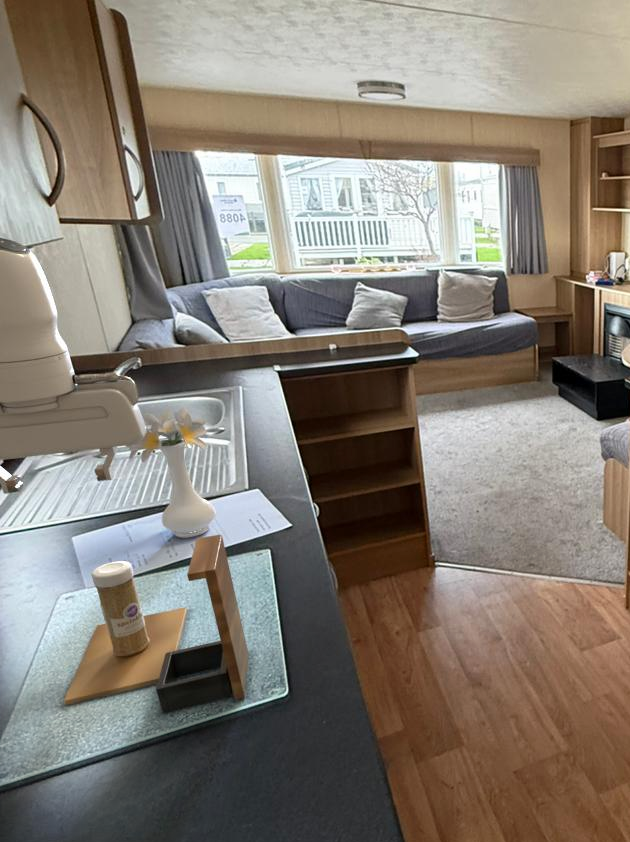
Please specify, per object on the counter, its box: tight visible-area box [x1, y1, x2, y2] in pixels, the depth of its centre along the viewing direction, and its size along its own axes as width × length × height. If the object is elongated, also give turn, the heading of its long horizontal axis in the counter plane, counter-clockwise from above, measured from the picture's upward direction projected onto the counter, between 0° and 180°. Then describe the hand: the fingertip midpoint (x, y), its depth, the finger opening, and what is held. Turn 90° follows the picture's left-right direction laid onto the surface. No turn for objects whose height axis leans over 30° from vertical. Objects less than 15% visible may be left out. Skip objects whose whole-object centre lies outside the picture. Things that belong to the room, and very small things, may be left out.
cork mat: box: [63, 606, 188, 706], centre depth 96 cm, size 12×18×1 cm, turn 24°
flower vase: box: [125, 407, 217, 539], centre depth 127 cm, size 13×18×25 cm
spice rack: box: [155, 533, 249, 715], centre depth 86 cm, size 10×10×20 cm
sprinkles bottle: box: [91, 560, 150, 656], centre depth 93 cm, size 5×5×14 cm
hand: (61, 485), depth 82 cm, fingers open, 8 cm apart
